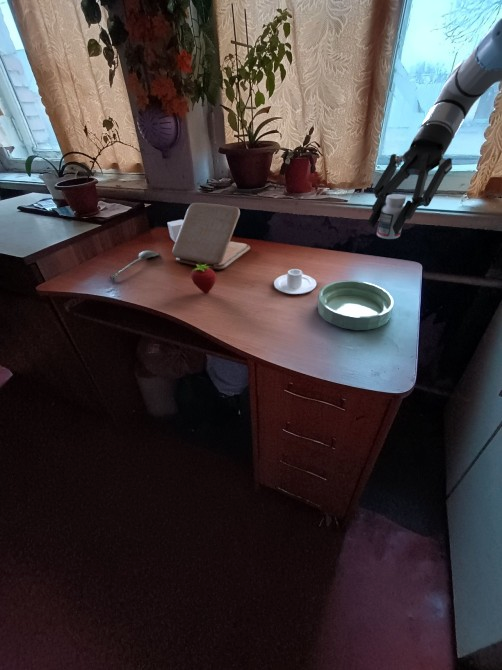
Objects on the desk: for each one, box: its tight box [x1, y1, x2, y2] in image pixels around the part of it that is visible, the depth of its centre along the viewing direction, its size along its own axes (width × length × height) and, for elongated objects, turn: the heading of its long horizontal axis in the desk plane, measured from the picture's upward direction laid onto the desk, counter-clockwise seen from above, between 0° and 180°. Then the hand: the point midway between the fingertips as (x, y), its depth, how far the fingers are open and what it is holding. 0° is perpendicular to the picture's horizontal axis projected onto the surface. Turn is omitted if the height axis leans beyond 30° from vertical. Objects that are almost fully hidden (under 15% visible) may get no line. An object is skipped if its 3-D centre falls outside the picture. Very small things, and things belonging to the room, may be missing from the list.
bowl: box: [316, 280, 395, 331], centre depth 76 cm, size 17×17×4 cm
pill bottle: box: [376, 193, 407, 240], centre depth 72 cm, size 5×5×9 cm
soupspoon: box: [109, 249, 160, 282], centre depth 104 cm, size 22×3×7 cm
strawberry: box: [190, 264, 217, 295], centre depth 85 cm, size 6×8×10 cm
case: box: [171, 202, 251, 271], centre depth 104 cm, size 20×21×16 cm
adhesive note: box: [167, 219, 184, 243], centre depth 122 cm, size 6×6×6 cm
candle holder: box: [273, 268, 317, 295], centre depth 88 cm, size 12×12×4 cm
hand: (382, 227), depth 71 cm, fingers closed on pill bottle, 5 cm apart
